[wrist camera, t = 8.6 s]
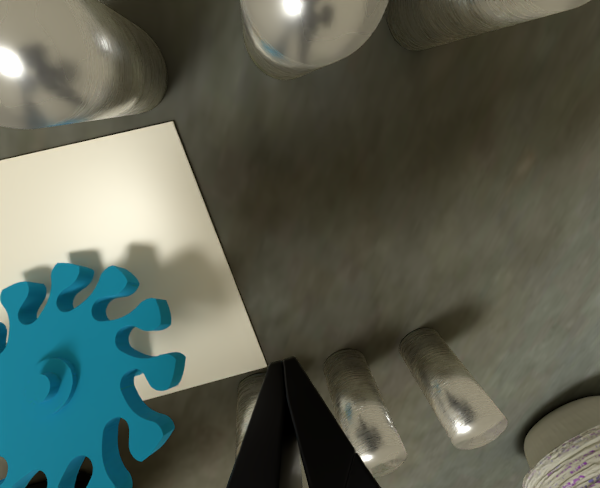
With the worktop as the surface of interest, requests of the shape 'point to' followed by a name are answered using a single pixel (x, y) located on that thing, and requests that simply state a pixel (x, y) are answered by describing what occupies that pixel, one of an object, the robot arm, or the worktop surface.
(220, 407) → the worktop surface
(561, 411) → the paper bowls
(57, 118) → the posts
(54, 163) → the pad
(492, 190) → the worktop surface
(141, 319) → the gear
